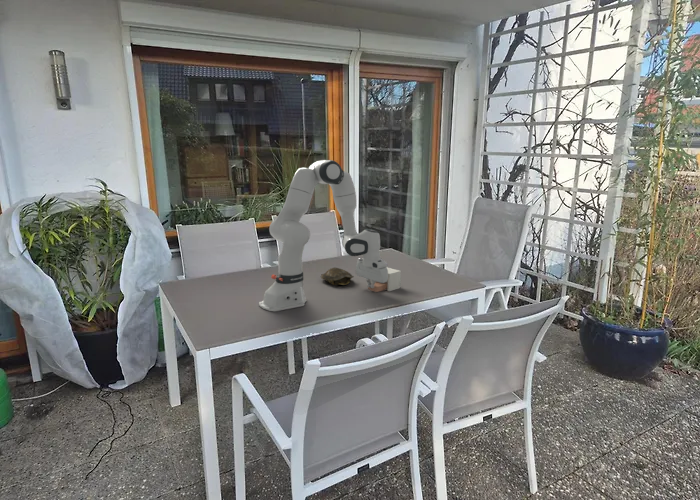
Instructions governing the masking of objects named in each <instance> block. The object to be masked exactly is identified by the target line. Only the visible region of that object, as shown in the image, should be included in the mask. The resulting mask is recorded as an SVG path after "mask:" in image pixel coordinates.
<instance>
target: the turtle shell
mask: <svg viewBox="0 0 700 500" xmlns="http://www.w3.org/2000/svg"><path fill="white" fill-rule="evenodd" d="M354 277H355V276H354V275H352V274H351V273H350V272H349V271H347V270H345V269H342V268H339V267H332V268H330V269H328V270H326V272H324V273H322V274H321V275H320V279H322V280H323V281H326V282H327V283H329V284H331V285H334V286H337V285H338V286H340V285H341V286H345V285H346V286H347V285H348V284H349V283H351V279H353V278H354Z"/></svg>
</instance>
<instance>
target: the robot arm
mask: <svg viewBox="0 0 700 500" xmlns="http://www.w3.org/2000/svg"><path fill="white" fill-rule="evenodd" d="M318 184H321V185H327V184H328V185H329V186H330V188H331V191H332V198H333V202H334V205H335V208H336V210H337V212H338V213H339V215H340V217H341V223H342V228H343V236H342V241H341V245H342V247H343V249H344V250H345V252H346V254H347V255H349V256H351V257H359V256H362V258H358V259H357V260H356V265H355V275H356V276H357V277H360V278H363V279H365V280H366V282H367V288H368V287H370V288H374V284H375V283H376V281H377V282H380V283H385V282H387V280H388V270H387V268H386V267H388V261H385V259H383V258H382V257H381V253H380V250H381V237H380V236H381V235H380V233H379V231H377V230H375V229H373V228H371V229H370V228H365V229H364V230H362V231H361V232H359V233H358V231H357V229H356V223H355V216H354V214H355V210H356V208H357V193H356V192H357V191H356V188H355V184H354V181H353V178H352V176H351V174H350V173H349V172H347V171H345V170H343V168H342V167H341V165H340V164H339V163H338V162H337V161H335V160H332V159H320V160H315V161H313V162H312V163H311V164H309V166H307V167H299V168H298V169H297V170H296V172H295V173H294V176H293V177H292V180H291V182H290V185H289V188H288V192H287V195H286V198H285V202H284V204H283V206H282V208H281V210H280V211H279V214H278V215H277V217H276V218H275V219H274V220H272V222H270V224H269V228H268V230H269V235H270V236H271V237H272V238H273V239H275V240H276V241H278V242H280V243H282V248H281V253H279V255H278V256H277V263H278V266H277V267H278V273H277V275H276V274H271V277H270V278H271V279H273V280H275V281H274V282H273V284H271V286H270V287H269V288H267V289H266V290H265V292H264V295H263V300H262V301H259V302H258V304H259V307H260V308H261V309H263V310H265V311H269V312H280V311H283V310H284V311H285V310H290V309H294V308H299V307H304V306H305V303H306V302H307V300H308V299H307V297H306V294H305V289H304V288H305V287H304V272H303V254H304V249H305V246H306V245H307V243H308V242H310V238H311V231H310V229H309V227H308V226H306V225H305V224H304V223H302V222H300V221H301V219H302V218H303V216H304V215H305V214H307V213H308V211H309V208H310V204H311V202H312V197H313V195H314V191H315V188H316V187H317V185H318ZM370 280H371V281H370ZM371 282H372V283H371Z"/></svg>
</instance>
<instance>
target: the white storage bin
mask: <svg viewBox="0 0 700 500" xmlns="http://www.w3.org/2000/svg"><path fill="white" fill-rule="evenodd" d="M386 268H387V270H388V280H387V282H386V283H388V289H387V292H391V291H395V290H398V289H400V288H401V281H402V280H401V279H402V277H401V276H402V271H401V270H399V269H395V268H391V267H388V266H387V267H386ZM370 281H371V280H370ZM376 282H377V281H376ZM371 283H372V282H371Z"/></svg>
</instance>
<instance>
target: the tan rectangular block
mask: <svg viewBox="0 0 700 500" xmlns="http://www.w3.org/2000/svg"><path fill="white" fill-rule="evenodd" d="M367 289H368V290H369V291H372V292H375V293H379V292H382V291H385V290H388V283H386V282H385V283H380V282H376V283H375V284H374V288H370V287H368V286H367Z"/></svg>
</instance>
